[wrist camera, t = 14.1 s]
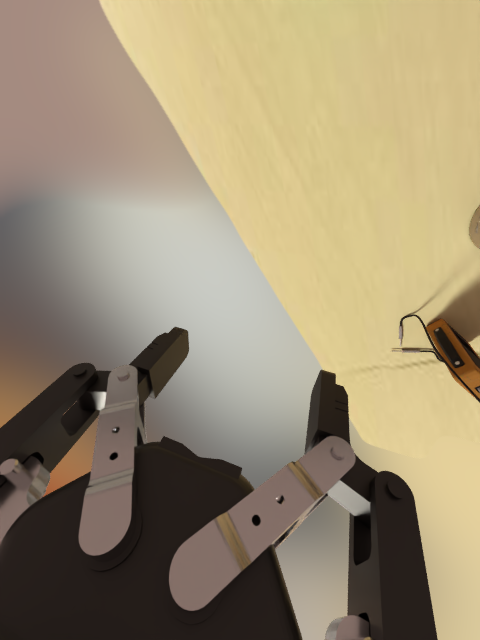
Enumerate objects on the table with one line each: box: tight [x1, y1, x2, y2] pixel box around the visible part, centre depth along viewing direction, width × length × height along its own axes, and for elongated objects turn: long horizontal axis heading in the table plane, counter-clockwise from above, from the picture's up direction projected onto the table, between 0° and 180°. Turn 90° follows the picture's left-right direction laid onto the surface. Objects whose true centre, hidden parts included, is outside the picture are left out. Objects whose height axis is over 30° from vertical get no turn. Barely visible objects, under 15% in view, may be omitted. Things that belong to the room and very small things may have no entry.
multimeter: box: [392, 315, 480, 402], centre depth 36 cm, size 15×10×20 cm
